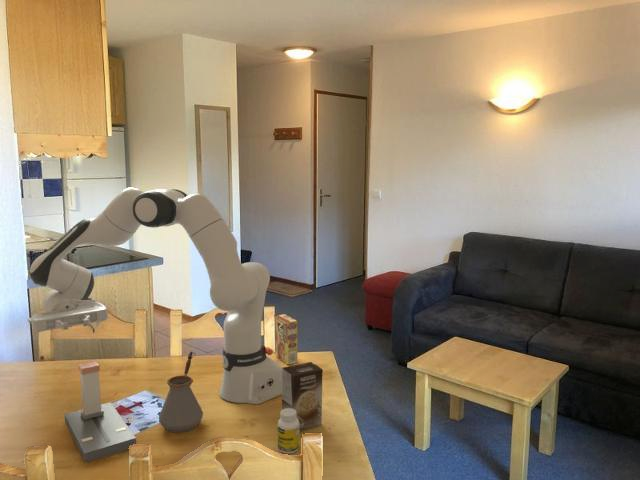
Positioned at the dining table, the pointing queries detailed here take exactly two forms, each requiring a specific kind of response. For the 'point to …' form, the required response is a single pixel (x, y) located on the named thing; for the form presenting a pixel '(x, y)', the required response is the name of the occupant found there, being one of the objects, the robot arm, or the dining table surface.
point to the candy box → (286, 338)
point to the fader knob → (90, 390)
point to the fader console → (99, 433)
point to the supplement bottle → (288, 431)
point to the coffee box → (303, 393)
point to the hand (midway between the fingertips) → (75, 325)
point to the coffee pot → (181, 404)
